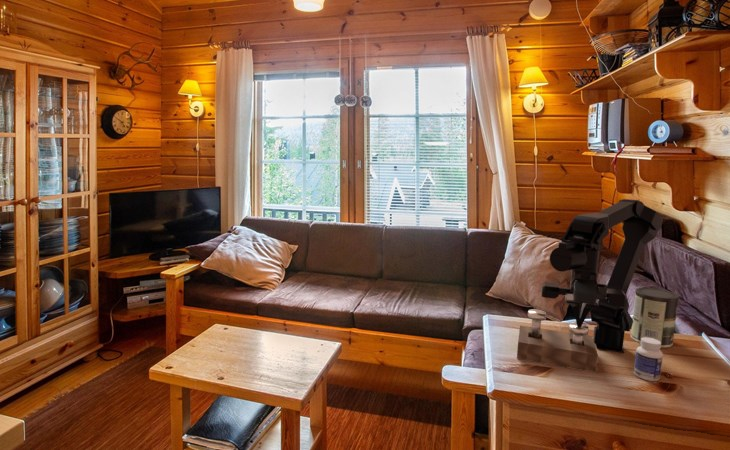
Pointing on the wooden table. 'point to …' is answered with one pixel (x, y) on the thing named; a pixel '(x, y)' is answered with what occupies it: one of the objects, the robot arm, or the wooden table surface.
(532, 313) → the far plunger
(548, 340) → the block
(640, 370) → the pill bottle
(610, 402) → the wooden table surface
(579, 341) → the near plunger
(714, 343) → the wooden table surface
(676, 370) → the wooden table surface
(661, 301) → the coffee can
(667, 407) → the wooden table surface
